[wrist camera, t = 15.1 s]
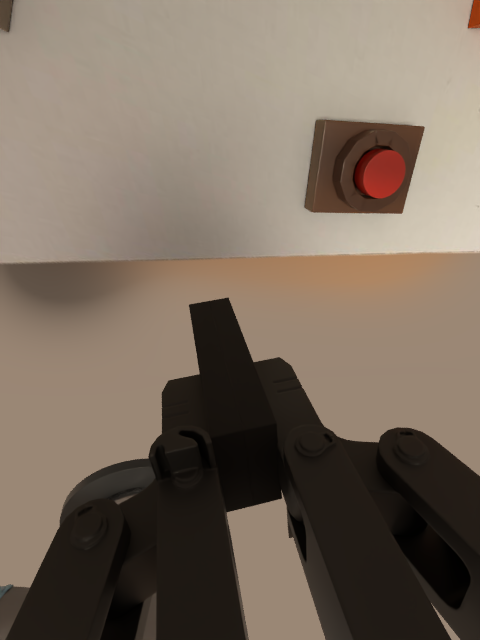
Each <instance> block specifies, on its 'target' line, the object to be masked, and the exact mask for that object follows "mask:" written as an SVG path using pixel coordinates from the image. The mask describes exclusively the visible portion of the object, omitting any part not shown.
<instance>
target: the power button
mask: <svg viewBox="0 0 480 640" xmlns="http://www.w3.org/2000/svg"><path fill="white" fill-rule="evenodd" d="M405 170H406V169H405V162H404V159H403V158H402V156H401V155H400V154H399V153H398V152H396V151H393V150H386V149H374V150H371V151H369V152H368V153H366V154H365V155H364V156H363V157H362V158H361V159H360V161H359V163H358V164H357V167H356V170H355V184H356V186H357V188H358V189H359V191H361V192H362V193H363V194H366V195H369V196H371V197H374V198H385V197H388V196H390V195H391V194H393V193H394V192H395V191H396V190H397V189H398V188H399V187H400V185H401V183H402V182H403V179H404V176H405Z"/></svg>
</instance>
